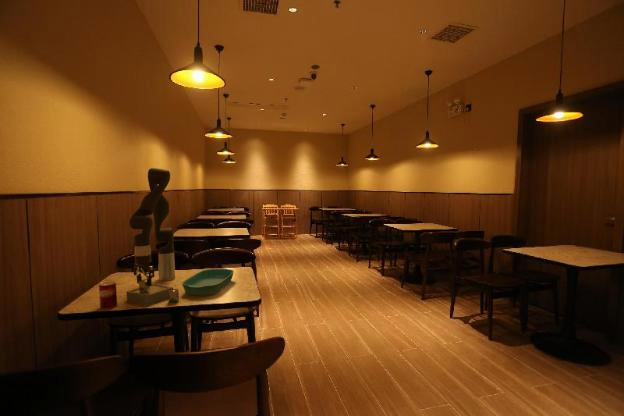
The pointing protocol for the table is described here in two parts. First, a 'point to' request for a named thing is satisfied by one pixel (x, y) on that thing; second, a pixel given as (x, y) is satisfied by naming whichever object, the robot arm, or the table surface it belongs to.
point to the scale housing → (148, 296)
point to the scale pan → (152, 290)
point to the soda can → (108, 295)
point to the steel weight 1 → (143, 286)
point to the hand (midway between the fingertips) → (144, 284)
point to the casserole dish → (207, 281)
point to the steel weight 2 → (173, 296)
